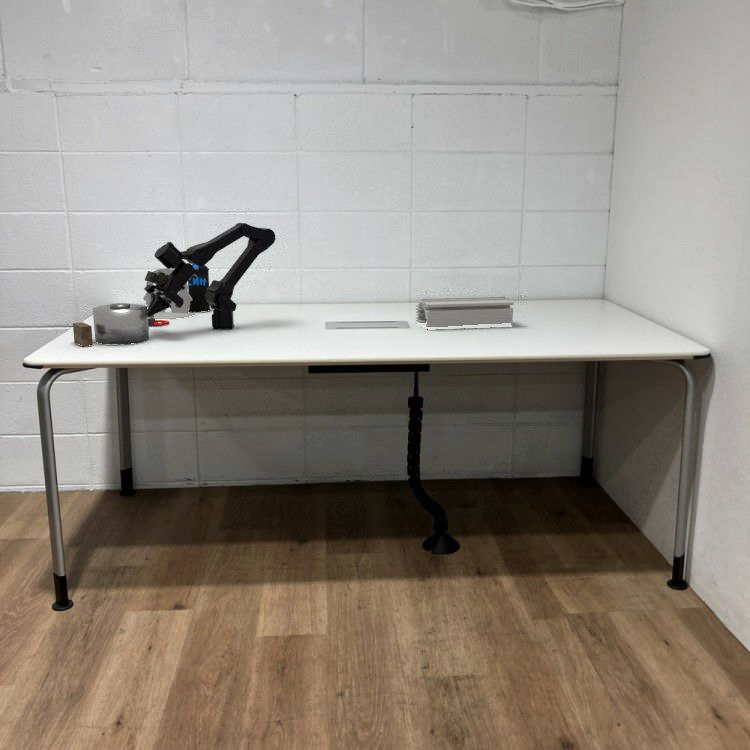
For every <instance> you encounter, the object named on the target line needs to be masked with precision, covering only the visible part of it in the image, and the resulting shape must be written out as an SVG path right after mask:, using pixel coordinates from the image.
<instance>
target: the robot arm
mask: <svg viewBox="0 0 750 750" xmlns="http://www.w3.org/2000/svg"><path fill="white" fill-rule="evenodd" d="M241 238H248V240H247V246H246V247H245V248H244V250H243V251H242V253H241V254H240V256H239V257H238V258H237V259H236V261H235V262H234V263H233V264H232V266H231V267H230V268H229V270H228V271H227V272H226V273H225V275H224V276H223V277H222V279H220V280H215V279H214V280H212V281H211V283H210V284H209V287H208V288H206V290H207V292H206V294H205V297H206V301H207V302H208V303H209V304H210V309H211V310H212V314H211V327H212V330H233V329H234V328H235V326H236V325H235V324H234V322H235V319H234V312H235V311H237V310H236V309H237V306H238V305H237V303H235V301H233V299H232V297H233V294H234V290H235V287H236V285H237V284H238V282H239V281H240V280H241V279H242V277H243V276H244V274H245V273H246V272H247V271H248V270H249V268H250V267H251V266H252V264H253V263H254V261H256V259H257V257H258V256H259V255H261V254H262V253H264V252H265V251H267V250H268V249H269V248H270V247H272V246H273V245H274V244H275V241H276V239H277V238H276V233H275V232H274V230H273V229H271V228H268V227H257V226H253V225H251V224H248V223H245V222H237V223H236V224H234V226H232V227H230V228H229V229H226V230H224V231H223V232H222V233H220V234H218V235H217V236H215V237H213V238H211V239H210V240H208V241H205V242H201V243H198V244H195V245H192V246H190V247H188V248H187V249H186V250H184V251H180V250H179V249H178V248H177V247H176V246H175V244H174V243H173V242H171V241H167V242H166V243H164V245H162V246H160V247H159V248H157V250H156V251H155V252H154V254H153V255H154V258H155V259H157V260H158V261H159V263H161V264H162V265H163V266H164V267H165V269H174V270H173V271H172V272H171V273H170V275H165V273H163V272H160V271H159V272H158V273H157V274H156V273H154V272H153V271H150V270H147V271H146V272H147V273H146V276H145V277H144V281H145V282H147V281H149V282H152V283H153V285H152V284H148V285H147V286H144V288H143V290H145V292H148V293H149V294H150V295H151V302H150V305H149V307H147V311H148V317H150V316H152V315H154V314H156V313H158V312H160V311H163V310H165V309H166V310H167V309H169V308H171V307H172V306H171V305H170V304H171V303H172V302H173V303H175V304H176V305H175V306H176V307H178V308H181V306H182V305H183V304H184V300H183V299H182V298H181V297H180V296H179V295H178V293H179V291H180V290H184V289H185V287H184V285H185V284H186V283H187V284H188V281H189V279H190V278H191V277H192V276H195V277H200V272H199V271H200V269H197V268H196V269H195V268H194V267H193V266H192V264H194V265H199V266H203V265H207V263H209V262H210V261H211V260H212V259H213V258H214V257H215V255H216V254H217V253H218V252H220V251H221V250H223V249H225V248H226V247H228V246H230V245H231V244H234V243H235V242H236V241H238V240H240V239H241ZM186 261H187V263H186Z"/></svg>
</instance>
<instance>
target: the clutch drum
mask: <svg viewBox="0 0 750 750" xmlns="http://www.w3.org/2000/svg"><path fill="white" fill-rule="evenodd" d="M147 309H148V307H147V305H146V304H145V305H144V304H139V303H129V302H128V303H126V302H119V303H118V302H116V303H111V304H104V305H98V306H95V307H93V308H92V316H93V317H92V320H93V329H94V331H93V332H94V342H95V341H96V342H98V343H97V344H99V343H102V344H101V345H104V344H128V345H132V344H131V343H136V344H141V343H140V342H142V343H145V342H147V341H149V340H150V331H149V329H150V327H149V326H148V311H147ZM144 341H145V342H144ZM96 342H95V343H96Z"/></svg>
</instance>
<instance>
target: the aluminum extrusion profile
mask: <svg viewBox="0 0 750 750" xmlns="http://www.w3.org/2000/svg"><path fill="white" fill-rule="evenodd" d="M514 303H515V302H514V301H512V300H510V298H509V297H506V296H488V297H487V296H486V297H485V296H480V297H478V296H477V297H443V298H441V297H440V298H437V297H436V298H420V299H419V298H418V299H417V304H418V305H417V304H415V310H416V311H415V313H416V315H415V316H416V317H415V318H416V319H415V320H416V321H417V322H419V323H426V322H427V324H426V327H448V326H463V325H478V324H502V323H512V324H513V321H514V320H513V319H514V317H513V316H514V308H512V307H511V306H514ZM416 321H415V322H416ZM417 322H416V323H417Z"/></svg>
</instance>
